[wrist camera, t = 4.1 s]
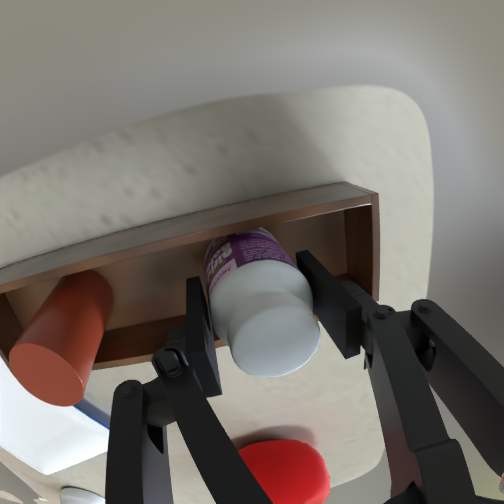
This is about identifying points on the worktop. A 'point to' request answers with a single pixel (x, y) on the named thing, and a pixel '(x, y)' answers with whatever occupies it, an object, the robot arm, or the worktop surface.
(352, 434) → the worktop surface
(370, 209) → the wooden tray
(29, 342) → the spice tin
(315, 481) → the tomato
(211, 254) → the pill bottle
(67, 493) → the vodka
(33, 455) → the plate
